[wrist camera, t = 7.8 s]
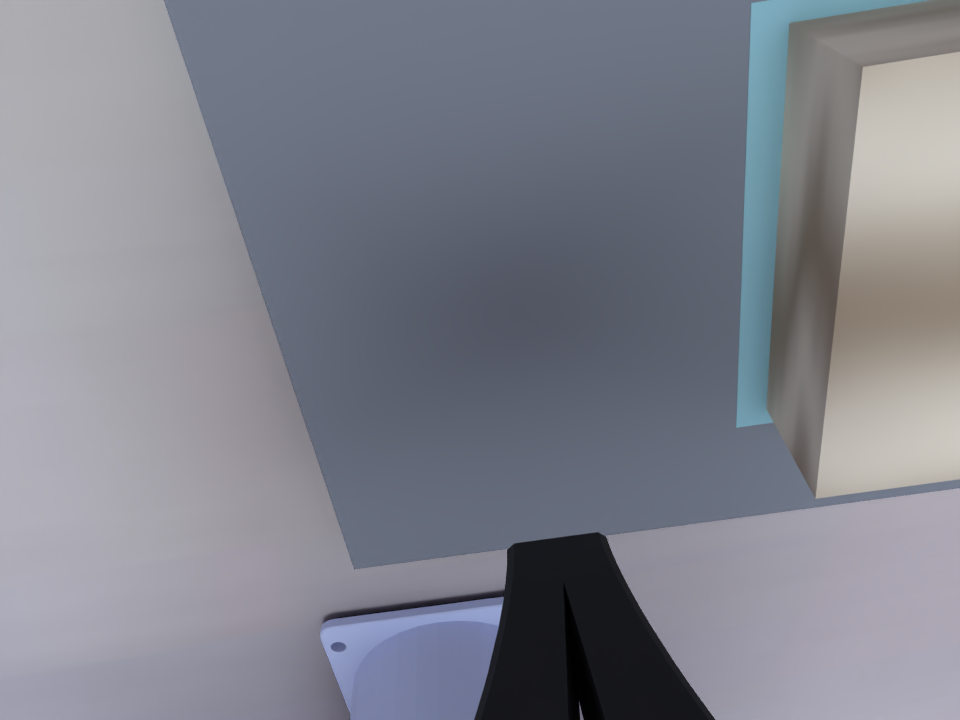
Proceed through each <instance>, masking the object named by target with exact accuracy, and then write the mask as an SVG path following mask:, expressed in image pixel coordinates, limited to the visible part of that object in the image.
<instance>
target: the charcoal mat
mask: <svg viewBox="0 0 960 720" xmlns="http://www.w3.org/2000/svg"><path fill="white" fill-rule="evenodd" d="M923 1H929V0H164V2H165V5H166V8H167V11H168V14H169V17H170V20H171V23H172V26H173V29H174V32H175V35H176V38H177V41H178V44H179V47H180V50H181V53H182V56H183V58H184V61H185V64H186V67H187V70H188V73H189V76H190V79H191V82H192V85H193V88H194V91H195V94H196V97H197V100H198V103H199V106H200V109H201V112H202V115H203V118H204V121H205V124H206V127H207V130H208V133H209V136H210V139H211V142H212V145H213V148H214V151H215V154H216V157H217V160H218V163H219V166H220V169H221V172H222V175H223V178H224V181H225V184H226V187H227V190H228V193H229V196H230V199H231V202H232V205H233V208H234V211H235V214H236V217H237V220H238V223H239V226H240V229H241V232H242V235H243V238H244V241H245V244H246V247H247V250H248V253H249V256H250V259H251V262H252V265H253V268H254V271H255V274H256V277H257V280H258V283H259V286H260V289H261V292H262V295H263V298H264V301H265V304H266V307H267V310H268V313H269V316H270V319H271V322H272V325H273V328H274V331H275V334H276V337H277V340H278V343H279V346H280V349H281V352H282V355H283V358H284V361H285V364H286V367H287V370H288V373H289V376H290V379H291V382H292V385H293V388H294V391H295V394H296V397H297V400H298V403H299V406H300V409H301V412H302V415H303V418H304V421H305V424H306V427H307V430H308V432H309V435H310V438H311V441H312V444H313V447H314V450H315V453H316V456H317V459H318V462H319V465H320V468H321V471H322V474H323V477H324V480H325V483H326V486H327V489H328V492H329V495H330V498H331V501H332V504H333V507H334V510H335V513H336V516H337V519H338V522H339V525H340V528H341V531H342V534H343V537H344V540H345V543H346V546H347V549H348V552H349V555H350V558H351V561H352V564H353V567H354V569H359V568H367V567H374V566H382V565H389V564H397V563H404V562H412V561H419V560H426V559H434V558H441V557H449V556H456V555H464V554H471V553H479V552H486V551H494V550H501V549H508V548H510V547H511V546H512V545H513V544H514V543H520V542H528V541H535V540H542V539H550V538H557V537H565V536H572V535H580V534H587V533H594V532H599V533H600V534H602V535H604V536H605V535H613V534H620V533H628V532H635V531H643V530H650V529H658V528H665V527H672V526H680V525H687V524H695V523H702V522H710V521H717V520H725V519H732V518H740V517H747V516H754V515H762V514H769V513H777V512H784V511H792V510H799V509H807V508H814V507H822V506H829V505H836V504H844V503H851V502H859V501H866V500H874V499H881V498H889V497H896V496H904V495H911V494H918V493H926V492H933V491H941V490H948V489H956V488H960V479H958V480H951V481H943V482H936V483H928V484H921V485H914V486H906V487H899V488H891V489H884V490H877V491H869V492H862V493H854V494H847V495H839V496H832V497H825V498H817V499H815V497H814V495H813V493H812V492H811V490H810V488H809V486H808V484H807V482H806V481H805V479H804V477H803V475H802V473H801V471H800V470H799V468H798V466H797V464H796V462H795V461H794V459H793V457H792V455H791V453H790V451H789V450H788V448H787V446H786V444H785V442H784V441H783V439H782V437H781V435H780V433H779V431H778V430H777V428H776V426H775V424H774V422H773V421H772V419H771V417H770V415H769V413H768V411H767V410H766V406H767V390H768V373H769V356H770V339H771V323H772V306H773V289H774V273H775V256H776V239H777V223H778V206H779V189H780V172H781V156H782V139H783V122H784V106H785V89H786V72H787V56H788V39H789V23H792V22H798V21H804V20H811V19H817V18H823V17H829V16H836V15H842V14H848V13H854V12H860V11H867V10H873V9H879V8H885V7H892V6H898V5H904V4H910V3H916V2H923Z"/></svg>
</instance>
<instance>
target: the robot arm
mask: <svg viewBox="0 0 960 720" xmlns="http://www.w3.org/2000/svg"><path fill="white" fill-rule="evenodd" d="M320 639H321V641H322V644H323V646H324V649H325V651H326V654H327V657H328V659H329V662H330V664H331V667H332V669H333V672H334V674H335V677H336V679H337V682H338V684H339V687H340V689H341V692H342V695H343V697H344V700H345V702H346V705H347V707H348V710H349V712H350V720H580V712H579V702H580V706H581V710H582V714H583V718H584V720H715V719H714V717H713V716H712V715H711V713H710V712H709V711H708V709H707V708H706V706H705V705H704V704H703V702H702V701H701V700H700V698H699V697H698V695H697V694H696V693H695V691H694V690H693V689H692V687H691V686H690V684H689V683H688V682H687V680H686V679H685V677H684V676H683V674H682V673H681V671H680V670H679V668H678V667H677V666H676V664H675V663H674V661H673V660H672V658H671V656H670V655H669V653H668V652H667V650H666V649H665V647H664V646H663V644H662V642H661V641H660V639H659V638H658V636H657V635H656V633H655V632H654V630H653V628H652V627H651V625H650V624H649V622H648V620H647V619H646V617H645V615H644V614H643V612H642V610H641V609H640V607H639V605H638V603H637V601H636V600H635V598H634V596H633V594H632V592H631V591H630V589H629V587H628V585H627V583H626V581H625V579H624V577H623V575H622V573H621V571H620V569H619V567H618V565H617V563H616V561H615V558H614V556H613V554H612V552H611V549H610V547H609V544H608V541H607V538H606V537H605V536H604V535H602V534H600V533H599V532H594V533H587V534H580V535H572V536H565V537H557V538H550V539H542V540H535V541H528V542H520V543H514V544H513V545H512V546H511V547H510V548H509V549H508V550H507V574H506V584H505V592H504V597H497V598H490V599H482V600H474V601H467V602H459V603H452V604H444V605H436V606H429V607H421V608H414V609H406V610H398V611H391V612H383V613H376V614H368V615H360V616H353V617H345V618H338V619H331V620H328V621H326V622H325V623H323V625H322V626H321V631H320Z"/></svg>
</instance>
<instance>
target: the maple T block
mask: <svg viewBox="0 0 960 720" xmlns="http://www.w3.org/2000/svg"><path fill="white" fill-rule="evenodd" d="M766 410H767V411H768V413H769V415H770V417H771V419H772V421H773V422H774V424H775V426H776V428H777V430H778V431H779V433H780V435H781V437H782V439H783V441H784V442H785V444H786V446H787V448H788V450H789V451H790V453H791V455H792V457H793V459H794V461H795V462H796V464H797V466H798V468H799V470H800V471H801V473H802V475H803V477H804V479H805V481H806V482H807V484H808V486H809V488H810V490H811V492H812V493H813V495H814V497H815V499H817V498H825V497H832V496H839V495H847V494H854V493H862V492H869V491H877V490H884V489H891V488H899V487H906V486H914V485H921V484H928V483H936V482H943V481H951V480H958V479H960V0H929V1H923V2H916V3H910V4H904V5H898V6H892V7H885V8H879V9H873V10H867V11H860V12H854V13H848V14H842V15H836V16H829V17H823V18H817V19H811V20H804V21H798V22H792V23H789V39H788V56H787V72H786V89H785V106H784V122H783V139H782V156H781V172H780V189H779V206H778V223H777V239H776V256H775V273H774V289H773V306H772V323H771V339H770V356H769V373H768V390H767V406H766Z"/></svg>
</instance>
